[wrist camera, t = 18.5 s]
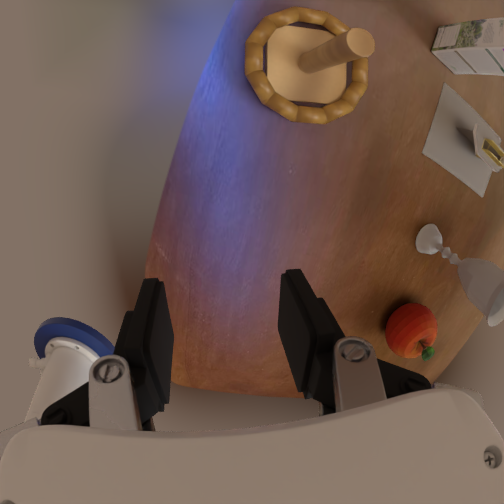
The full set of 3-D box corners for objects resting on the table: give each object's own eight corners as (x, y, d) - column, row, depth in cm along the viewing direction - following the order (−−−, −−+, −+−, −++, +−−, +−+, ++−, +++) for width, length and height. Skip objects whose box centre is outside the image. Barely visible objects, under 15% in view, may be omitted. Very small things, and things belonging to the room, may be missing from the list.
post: (264, 99, 28) (300, 91, 16) (265, 26, 24) (299, -21, 12) (341, 106, 29) (410, 109, 18) (341, 37, 25) (407, 9, 14)
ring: (242, 120, 28) (244, 120, 26) (245, 5, 22) (247, -1, 20) (360, 128, 30) (368, 129, 28) (362, 23, 23) (369, 20, 22)
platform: (482, 197, 37) (508, 211, 32) (421, 152, 33) (453, 163, 27) (501, 139, 33) (528, 148, 27) (444, 82, 28) (476, 83, 22)
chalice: (447, 236, 40) (522, 295, 24) (422, 266, 42) (491, 334, 26) (431, 208, 37) (518, 266, 21) (404, 240, 39) (483, 311, 23)
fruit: (414, 283, 43) (447, 319, 34) (424, 313, 47) (453, 347, 38) (370, 317, 45) (397, 359, 36) (386, 343, 49) (409, 381, 40)
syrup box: (454, 75, 28) (531, 81, 15) (428, 50, 26) (508, 45, 13) (462, 49, 26) (534, 50, 13) (437, 24, 24) (511, 15, 11)
